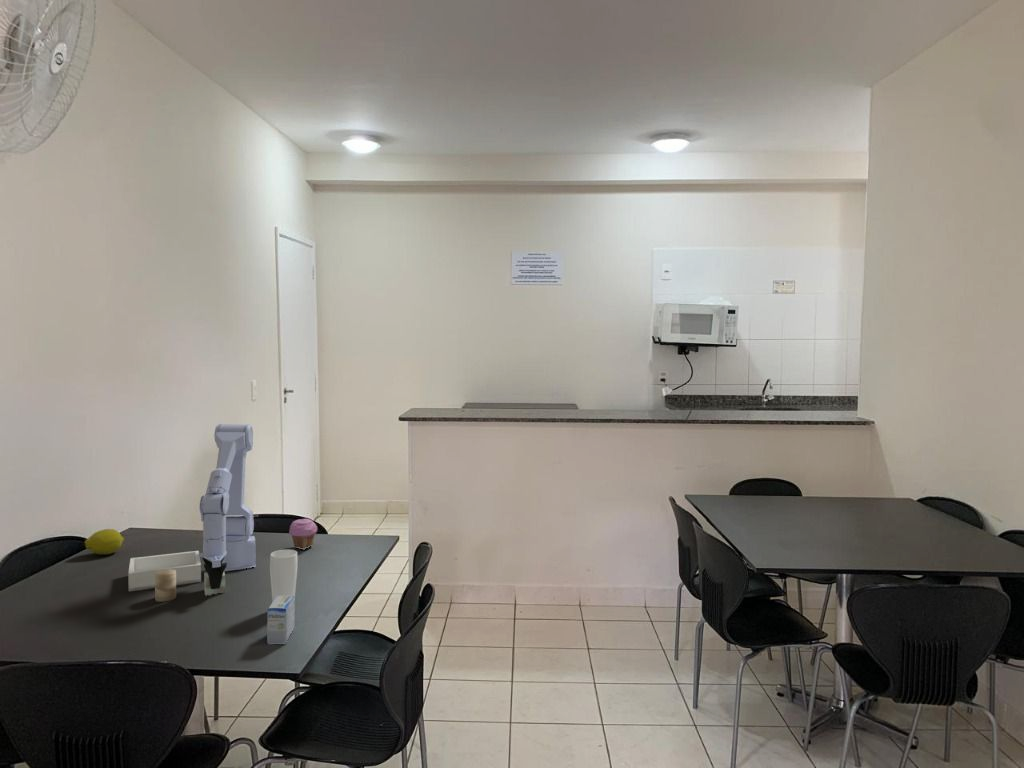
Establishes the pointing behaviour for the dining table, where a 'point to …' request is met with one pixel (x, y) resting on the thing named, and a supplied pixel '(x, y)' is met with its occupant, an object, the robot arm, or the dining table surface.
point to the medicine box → (281, 619)
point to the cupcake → (303, 532)
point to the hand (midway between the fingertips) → (214, 585)
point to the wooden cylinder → (165, 585)
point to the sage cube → (208, 588)
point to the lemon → (104, 542)
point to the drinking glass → (283, 572)
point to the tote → (147, 566)
